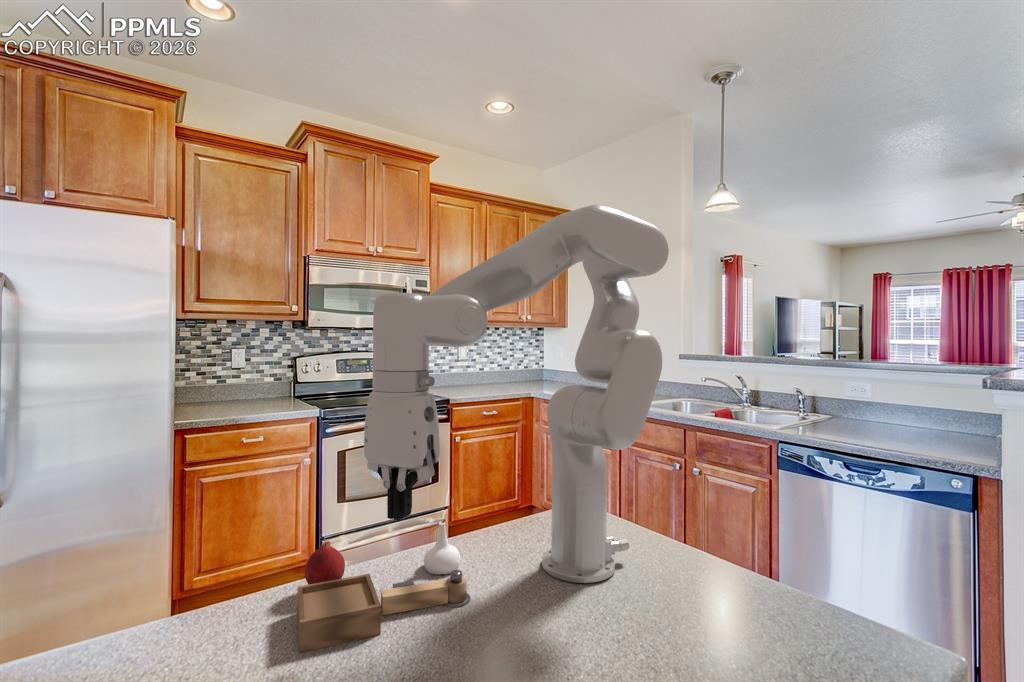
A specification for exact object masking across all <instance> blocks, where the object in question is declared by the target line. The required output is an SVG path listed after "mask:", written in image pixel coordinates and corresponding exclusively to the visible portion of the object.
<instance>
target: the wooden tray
mask: <svg viewBox="0 0 1024 682" xmlns="http://www.w3.org/2000/svg"><path fill="white" fill-rule="evenodd" d="M374 585H375V584H374V583H373V580H372V578H371V574H370V573H366V574H361V575H355V576H350V577H349V576H348V577H342V578H341V579H337V580H331V581H326V582H320V583H315V584H309V585H308V584H303V585H297V603H296V604H297V606H296V607H297V630H298V632H297V633H298V651H299V654H300V653H305V652H311V651H313V650H318V649H323V648H327V647H331V646H332V647H333V646H335V645H340V644H345V643H347V642H348V643H349V642H353V641H358V640H362V639H365V638H370V637H375V636H378V635H381V634H382V611H381V601H380V599H379V597H378V593H377V591H376V588H375V586H374Z"/></svg>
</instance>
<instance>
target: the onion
mask: <svg viewBox="0 0 1024 682" xmlns="http://www.w3.org/2000/svg"><path fill="white" fill-rule="evenodd" d="M331 544H332V543H331V541H330V540H329V539H326V540H324V541H323V542H322V543H321V545H320V546H319V548H317V549H315V550H314V552H312V554H311V555H310V556H309V557H308V560H307V561H306V563H305V566H304V577H305V581H306V583H307V585H309V584H315V583H320V582H326V581H331V580H337V579H342V578H344V577H343V576H344V573H345V569H346V564H345V563H346V561H345V559H344V556H343V555H342V554H341V552H340V551H339V550H338V549H337V548H336V547H333V546H332V545H331Z"/></svg>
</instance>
